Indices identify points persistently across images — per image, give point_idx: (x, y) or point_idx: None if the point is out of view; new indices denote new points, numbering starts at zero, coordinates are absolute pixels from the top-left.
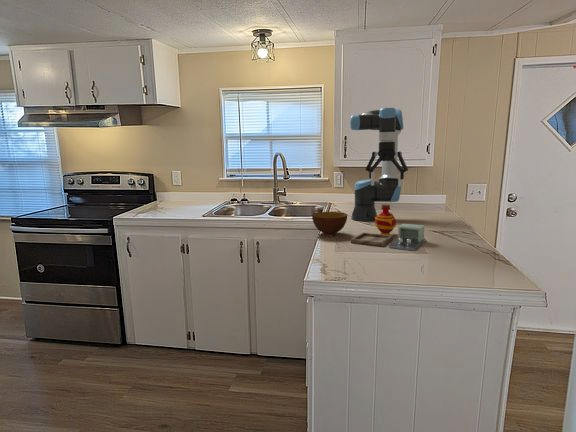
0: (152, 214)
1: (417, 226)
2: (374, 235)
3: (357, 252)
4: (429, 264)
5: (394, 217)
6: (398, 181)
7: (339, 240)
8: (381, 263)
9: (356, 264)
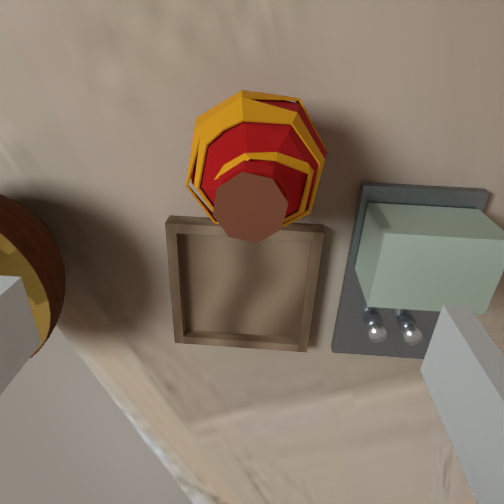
0: None
1: (472, 279)
2: None
3: (248, 413)
4: None
5: (320, 167)
6: (450, 437)
7: (120, 314)
8: (341, 467)
9: (284, 484)
